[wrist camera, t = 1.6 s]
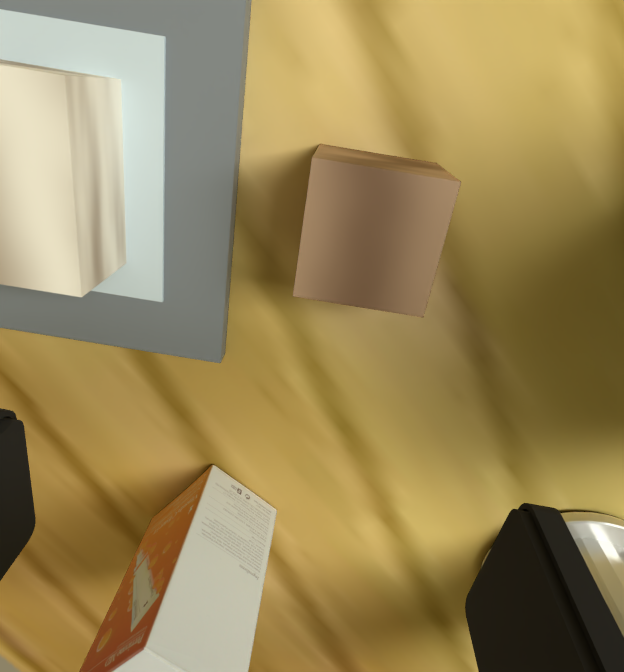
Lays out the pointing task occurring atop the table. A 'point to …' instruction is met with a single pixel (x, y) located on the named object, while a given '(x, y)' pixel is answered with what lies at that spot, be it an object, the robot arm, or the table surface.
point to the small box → (191, 585)
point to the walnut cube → (373, 230)
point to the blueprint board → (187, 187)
